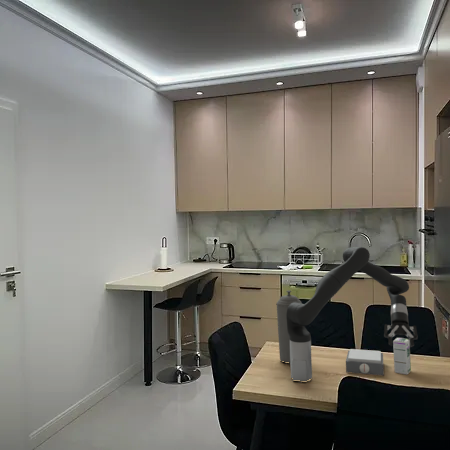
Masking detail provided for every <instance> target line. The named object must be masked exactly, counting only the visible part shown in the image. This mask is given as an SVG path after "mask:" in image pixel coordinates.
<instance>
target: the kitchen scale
mask: <svg viewBox="0 0 450 450" xmlns="http://www.w3.org/2000/svg"><path fill="white" fill-rule="evenodd" d="M346 354H347V355H346V358H345V372H346V373H349V372H352V373H353V374H362V375H363V374H364V375H374V376H375V375H376V376H383V377H384V375H385V371H384V369H385V368H384V353H383V352H381V350H370V349H369V350H368V349H356V348H350V349H349V350H347V353H346Z"/></svg>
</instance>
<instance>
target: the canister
mask: <svg viewBox="0 0 450 450" xmlns="http://www.w3.org/2000/svg"><path fill="white" fill-rule="evenodd" d="M286 293H287V294H285V295H282V296H281V297H280V298H279V299H278V300H277V302H276V317H277V318H276V319H277V333H278V334H277V335H278V352H279V361H280V360H281V361H284V362H289V363H290V337H289V334H288V331H287V319H286V313H287V308H288V306H289V305H290V304H291V303H294V302H297V303H302V301H301V300H300V299H299V298H298V296H296V295H293V294H291V293H292V290H286ZM281 361H280V362H281Z"/></svg>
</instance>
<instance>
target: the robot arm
mask: <svg viewBox="0 0 450 450" xmlns="http://www.w3.org/2000/svg"><path fill="white" fill-rule="evenodd" d="M370 257H371V256H370V251H369V250H368V249H367V248H365V246H364V247H363V246H353V247H347V248H346V249H344V251H343V252H342V260H343V261H344V263H342V264H341V265H338V266H336V267H334V268H333V269H331V270H329V271H328V272H326V273H325V274H324V275H323V276H322V278H320V279H319V280H318V282H317V283H316V287H315V292H314V294H313V296H312V297H311V298H310V299H309V300H308V301H307V302H306V303H302V302H301V303H297V302H294V303H291V304H290V305H289V306H288V308H287V313H286V319H287V331H288V334H289V337H290V364H289V366H290V379H291V378H293V380H300V381H307V380H309V379H311V378H312V379H313V366H312V365H313V363H312V362H313V360H312V337H311V332H309V331H308V329H307V328H306V327H307V326H309V325H310V324H311V323H313V321H314V320H315V318H316V317H317V316H318V315H319V313H320V312H321V310H322V309H324V307H325V306H326V305H327V304H328V302H330V300H331V299H332V298H333V297H334V296H335V295H336V294H337V293H338V292H339V291H340V290H341V289H342V287H344V285H345V284H347V283H348V281H349V280H350V279H351V278H353V276H354V275H355V274H357V272H359V271H360V272H362V273H364V274H365V275H366V276H368V277H370V278H372V279H373V280H375V281H376V282H377V283H379V284H380V285H382V286H383V287H386V291H387V294H388V296H389V299H390V321H391V322H390V323H391V325H390V324H387V323H385V324H384V327H383V329H384V330H383V332H384V333H383V337H384V338H387V339H388V346H390V347H392V346H393V337H395V336H396V335H397V336H406V337H407V339H409V341H410V349H411V348H413V347H414V346H415V341H416V340H418V330H417V325H413V326H410V325H409V313H408V309H407V308H408V307H407V299H406V297H405V296H404V295H402V294H404V293H407V292H408V291H409V289H410V286H409V283H408V281H407V280H406V279H404V278H402V277H400V276H397V275H395V274H392V273H390V271H388V270H386V269H385V268H383V267H381V266H379V265H377V264H375V263H372V262H369V260H370ZM389 330H391V331H390V333H388V331H389ZM410 330H411V331H410ZM411 332H413V334H412V333H411ZM293 380H292V381H293Z"/></svg>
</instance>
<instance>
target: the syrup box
mask: <svg viewBox="0 0 450 450" xmlns="http://www.w3.org/2000/svg"><path fill="white" fill-rule="evenodd" d="M392 346H393V364H394V366H393V368H394V373H396V374H401V375H407V376H408V374H409V373H411V371H412V363H411V347H410V339H409V338H404V337H396V338H395V339H394V340H392Z"/></svg>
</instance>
